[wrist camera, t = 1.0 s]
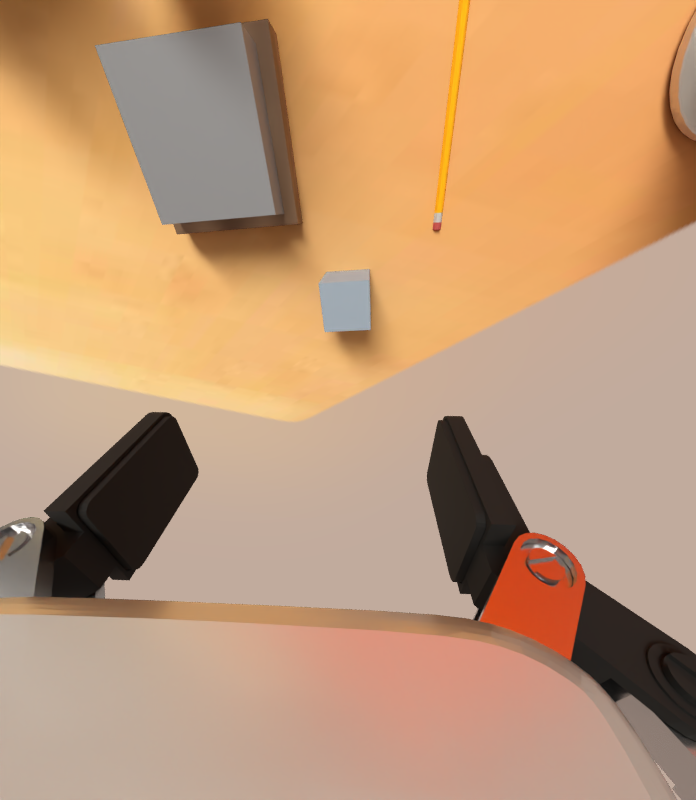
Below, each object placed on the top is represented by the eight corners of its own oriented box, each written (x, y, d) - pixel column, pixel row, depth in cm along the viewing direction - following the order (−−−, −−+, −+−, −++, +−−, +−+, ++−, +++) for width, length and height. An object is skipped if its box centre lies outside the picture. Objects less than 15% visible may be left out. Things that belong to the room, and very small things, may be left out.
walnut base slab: (278, 38, 23) (267, 18, 21) (303, 222, 31) (297, 223, 28) (135, 60, 25) (109, 44, 22) (192, 232, 32) (177, 234, 29)
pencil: (432, 229, 30) (433, 230, 29) (467, -75, 20) (469, -84, 19) (439, 229, 30) (441, 229, 29) (479, -77, 20) (482, -85, 19)
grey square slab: (255, 43, 22) (240, 22, 19) (284, 214, 28) (275, 214, 25) (124, 63, 23) (94, 45, 20) (180, 223, 29) (162, 224, 26)
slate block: (369, 269, 32) (369, 280, 27) (370, 312, 35) (370, 329, 30) (326, 271, 33) (318, 283, 28) (331, 314, 36) (324, 332, 31)
